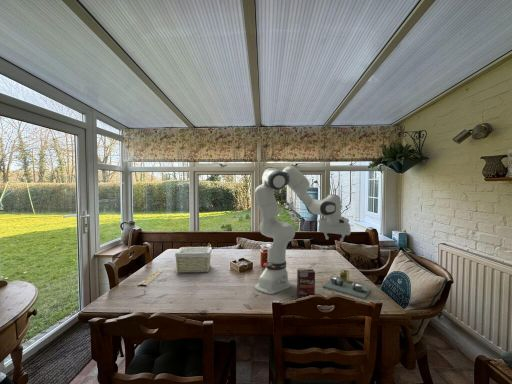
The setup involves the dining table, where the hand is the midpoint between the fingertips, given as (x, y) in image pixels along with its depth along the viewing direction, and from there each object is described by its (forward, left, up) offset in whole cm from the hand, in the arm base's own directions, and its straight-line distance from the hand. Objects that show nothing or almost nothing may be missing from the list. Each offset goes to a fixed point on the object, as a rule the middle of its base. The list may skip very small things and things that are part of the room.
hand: (334, 240), depth 153 cm
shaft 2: (-11, -19, -25) cm, 34 cm away
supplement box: (-39, +1, -25) cm, 46 cm away
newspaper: (-76, +94, -26) cm, 124 cm away
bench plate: (-12, -12, -25) cm, 30 cm away
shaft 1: (-10, -5, -25) cm, 27 cm away
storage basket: (-48, +85, -26) cm, 101 cm away
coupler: (-1, -7, -25) cm, 26 cm away
